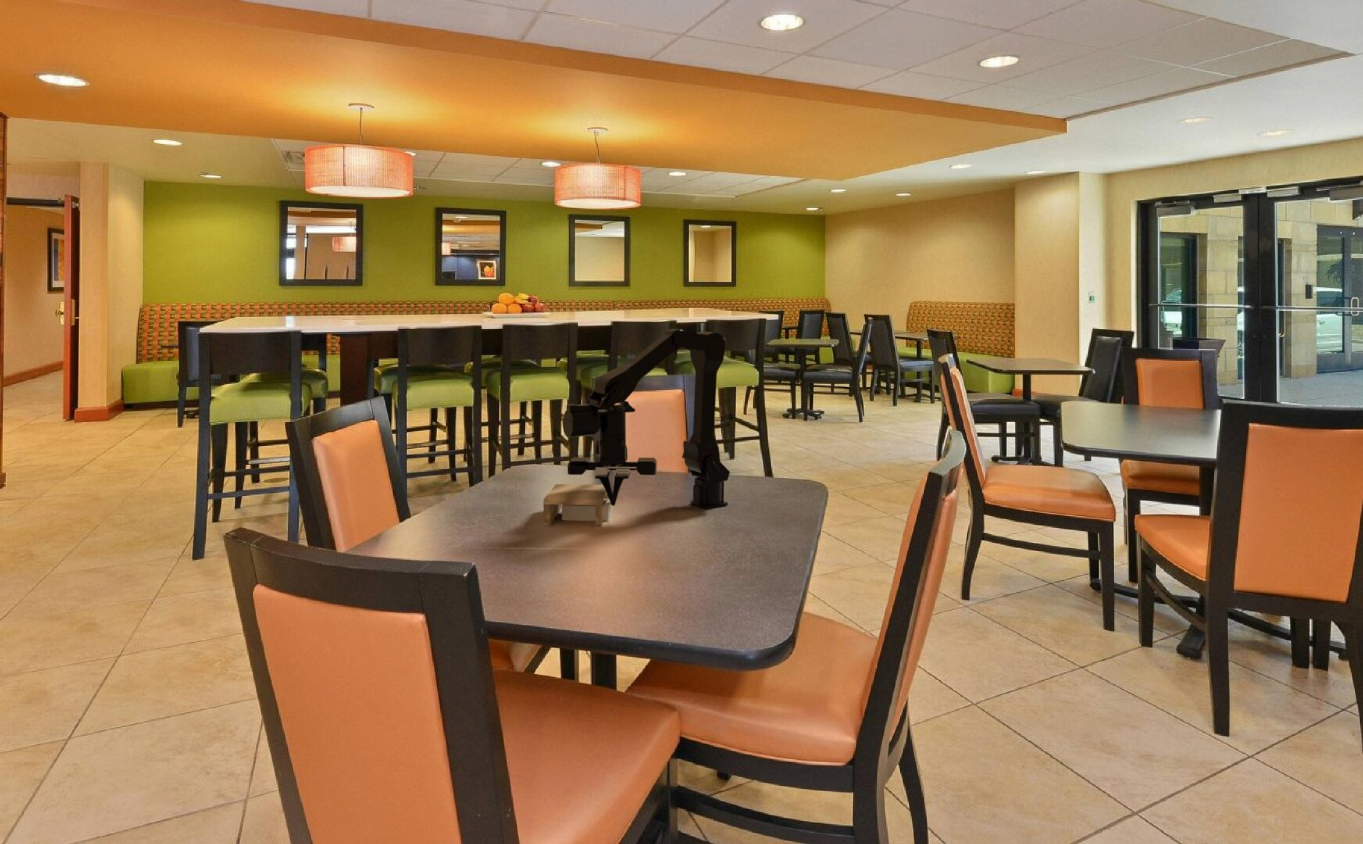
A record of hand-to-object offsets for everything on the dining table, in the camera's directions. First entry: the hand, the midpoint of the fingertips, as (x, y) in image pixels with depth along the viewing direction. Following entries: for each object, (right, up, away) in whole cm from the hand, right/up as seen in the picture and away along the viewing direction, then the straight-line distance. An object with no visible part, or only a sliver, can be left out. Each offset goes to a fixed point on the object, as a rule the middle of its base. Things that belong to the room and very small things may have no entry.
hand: (613, 505), depth 167 cm
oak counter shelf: (-8, -3, +1) cm, 8 cm away
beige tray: (-6, -3, +1) cm, 6 cm away
